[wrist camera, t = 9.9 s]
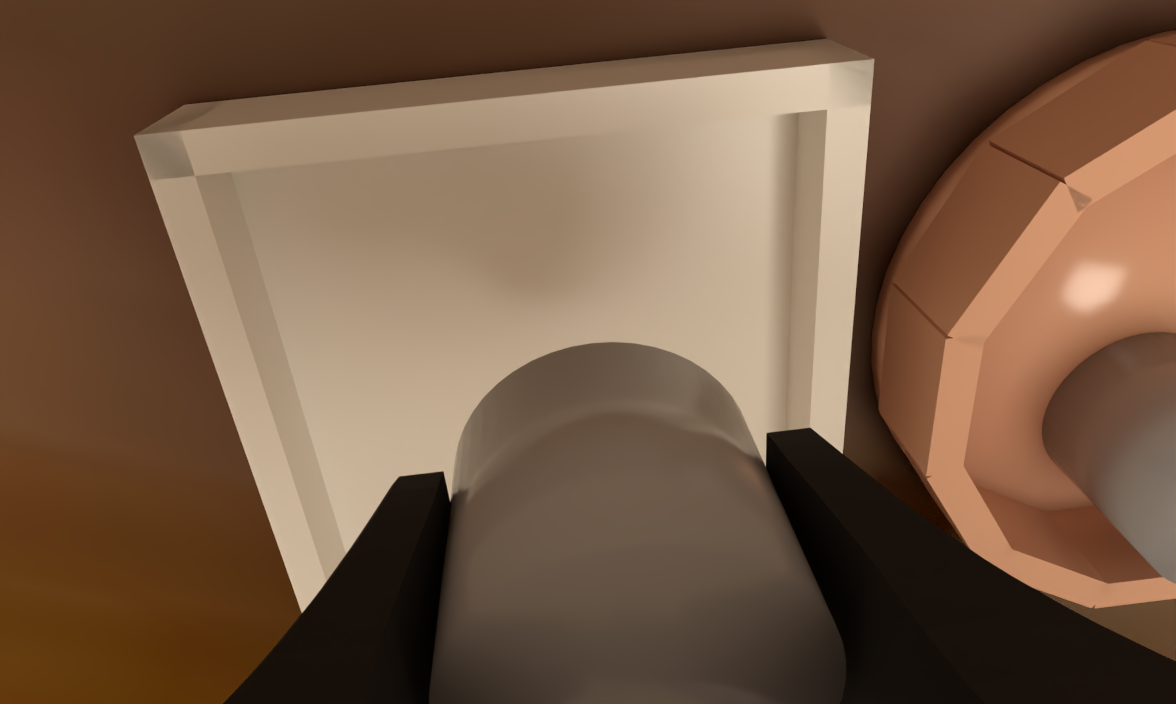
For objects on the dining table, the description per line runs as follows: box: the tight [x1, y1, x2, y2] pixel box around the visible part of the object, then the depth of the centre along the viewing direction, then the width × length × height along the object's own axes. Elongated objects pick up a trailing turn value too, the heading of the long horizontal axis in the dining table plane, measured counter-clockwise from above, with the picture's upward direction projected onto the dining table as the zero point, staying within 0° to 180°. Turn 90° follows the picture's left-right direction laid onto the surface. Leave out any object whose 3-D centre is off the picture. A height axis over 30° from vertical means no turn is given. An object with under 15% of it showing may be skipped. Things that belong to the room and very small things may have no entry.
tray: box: [134, 39, 874, 613], centre depth 20 cm, size 18×13×2 cm
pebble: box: [429, 342, 846, 704], centre depth 10 cm, size 4×4×4 cm
